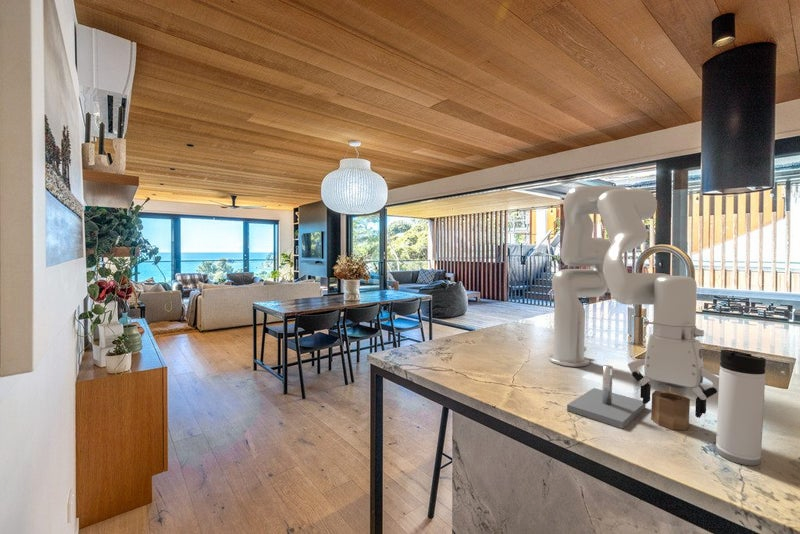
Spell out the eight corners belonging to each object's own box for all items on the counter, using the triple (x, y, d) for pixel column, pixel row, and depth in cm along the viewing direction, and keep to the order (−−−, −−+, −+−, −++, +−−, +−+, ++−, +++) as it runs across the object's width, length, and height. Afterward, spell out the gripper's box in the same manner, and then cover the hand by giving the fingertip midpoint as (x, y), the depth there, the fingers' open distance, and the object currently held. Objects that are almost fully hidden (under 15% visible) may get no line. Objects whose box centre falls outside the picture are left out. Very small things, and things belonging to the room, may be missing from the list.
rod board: (593, 393, 100) (593, 387, 100) (645, 407, 92) (645, 401, 91) (566, 410, 90) (567, 404, 90) (622, 428, 81) (622, 422, 81)
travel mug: (705, 448, 73) (709, 347, 72) (736, 447, 74) (741, 346, 73) (736, 467, 67) (742, 356, 66) (770, 465, 67) (776, 355, 66)
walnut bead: (656, 413, 88) (657, 388, 88) (690, 423, 84) (691, 396, 83) (648, 422, 84) (649, 395, 84) (683, 432, 79) (684, 404, 79)
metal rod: (603, 400, 92) (605, 364, 92) (612, 403, 91) (613, 366, 90) (600, 403, 91) (601, 366, 90) (609, 405, 89) (610, 368, 89)
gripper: (728, 335, 79) (725, 416, 79) (634, 324, 91) (633, 393, 92) (722, 341, 74) (719, 427, 74) (623, 328, 86) (622, 401, 87)
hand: (671, 408), depth 83 cm, fingers open, 9 cm apart
